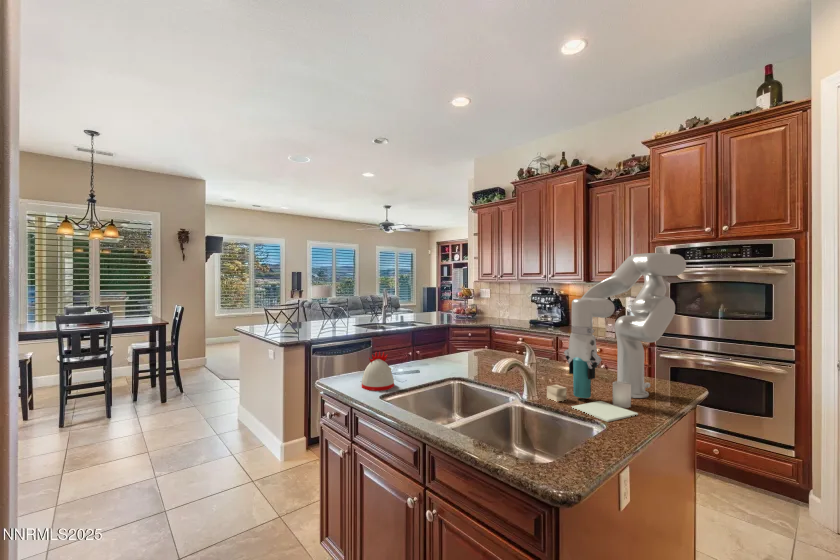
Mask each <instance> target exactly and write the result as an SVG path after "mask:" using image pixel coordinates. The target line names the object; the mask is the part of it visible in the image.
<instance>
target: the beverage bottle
mask: <svg viewBox="0 0 840 560" xmlns="http://www.w3.org/2000/svg"><path fill="white" fill-rule="evenodd" d="M588 368H589V366H588V364H587V362H585V361H583V360H582V359H580V358H578V357H575V358H573V374H572V375H573V376H572V377H573V378H572V382H573V383H572V390H573V391H572V394H573V396H574V397H576V398H580V399H581V398H582V399H589V398H591V397H592V379H588Z"/></svg>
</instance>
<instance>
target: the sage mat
mask: <svg viewBox="0 0 840 560" xmlns="http://www.w3.org/2000/svg"><path fill="white" fill-rule="evenodd" d="M571 407H572V408H571ZM570 408H571V409H573V408H574V409H573V410H575V409H577V410H576V411H578V410H580V411H582V412H581V413H583V412H585V413H584V414H586V413H587V414H586V415H588V414H589V415H588V416H591V415H592V416H591V417H593V416H594V418H596V419H599V420H602V421H604V422H607V423H609V422H613V421H618V420H622V419H626V418H631V416H632V417H635V415H636V416H638V415H639V413H638V412H636V411H633V410H630V409H628V408H621V407H618V406H615V405H613V403H612V404H611V403H608V402H605V401H602V400H598V401H597V400H596V401H593V402H587V403H581V404H577V405H571V406H570ZM580 411H579V412H580Z"/></svg>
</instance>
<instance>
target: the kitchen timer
mask: <svg viewBox="0 0 840 560" xmlns="http://www.w3.org/2000/svg"><path fill="white" fill-rule="evenodd" d="M371 356H372V359H371V358H370V357H368V359H369V364H368V365H367V366H366V367H365V370H364V372H363V376H362V379H361V388H362V389H364V390H366V391H372V392H374V391H375V392H376V391H377V392H380V391H381V392H382V391H388V390H390V389H393V388H394V386H395V380H394V376H393V373H392V368H391V367H390V366H389V365H388V363H387V362H386V360H387V358H388V356H389V354H386V355H385V351H383V352H382V355H381V351H379V352H377V351H375V356H374V353H373V354H371Z"/></svg>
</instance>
